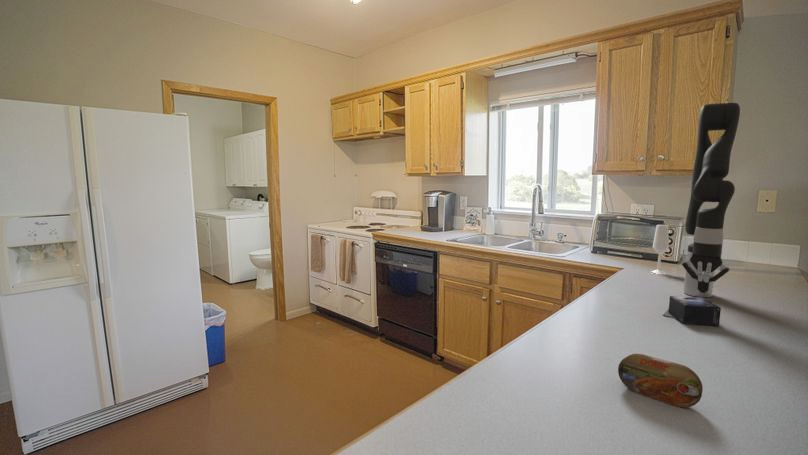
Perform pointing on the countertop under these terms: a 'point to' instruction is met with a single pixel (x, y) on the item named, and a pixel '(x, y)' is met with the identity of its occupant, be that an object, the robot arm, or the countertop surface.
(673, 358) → the countertop surface
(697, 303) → the small box
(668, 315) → the mat
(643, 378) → the tin
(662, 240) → the champagne flute
